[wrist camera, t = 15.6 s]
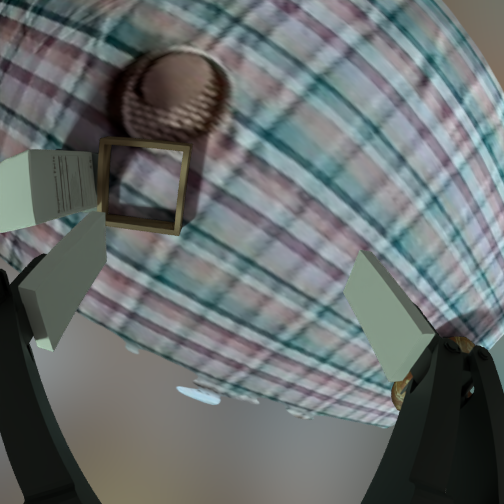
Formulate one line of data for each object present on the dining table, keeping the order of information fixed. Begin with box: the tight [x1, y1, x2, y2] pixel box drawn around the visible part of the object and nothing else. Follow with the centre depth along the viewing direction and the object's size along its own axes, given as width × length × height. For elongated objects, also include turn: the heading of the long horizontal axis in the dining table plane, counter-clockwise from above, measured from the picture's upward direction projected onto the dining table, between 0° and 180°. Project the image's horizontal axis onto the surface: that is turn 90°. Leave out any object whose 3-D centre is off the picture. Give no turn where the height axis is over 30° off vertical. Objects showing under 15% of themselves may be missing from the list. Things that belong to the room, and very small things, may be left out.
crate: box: [97, 136, 193, 236], centre depth 41 cm, size 14×14×3 cm
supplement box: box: [0, 149, 97, 233], centre depth 32 cm, size 9×9×15 cm
